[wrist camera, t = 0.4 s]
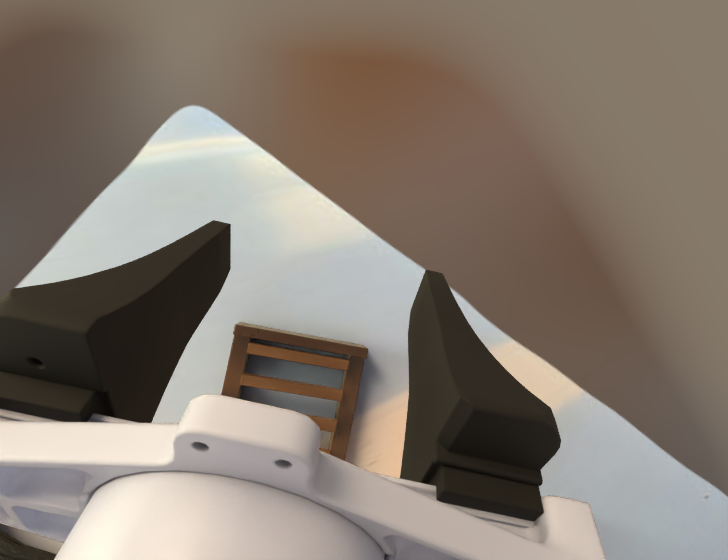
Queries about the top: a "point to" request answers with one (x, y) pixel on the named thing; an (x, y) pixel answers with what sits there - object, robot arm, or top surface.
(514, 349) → the top surface
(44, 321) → the robot arm
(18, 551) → the hairbrush
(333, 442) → the rack
